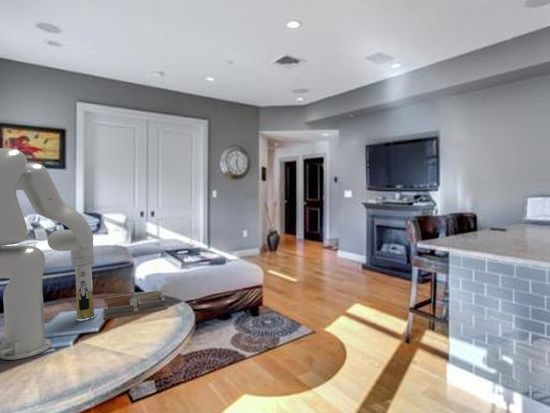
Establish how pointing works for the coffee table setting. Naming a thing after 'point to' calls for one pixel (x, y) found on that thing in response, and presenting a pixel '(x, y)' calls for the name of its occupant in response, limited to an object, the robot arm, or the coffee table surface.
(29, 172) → the robot arm
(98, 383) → the coffee table surface
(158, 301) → the socket board
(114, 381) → the coffee table surface
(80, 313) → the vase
